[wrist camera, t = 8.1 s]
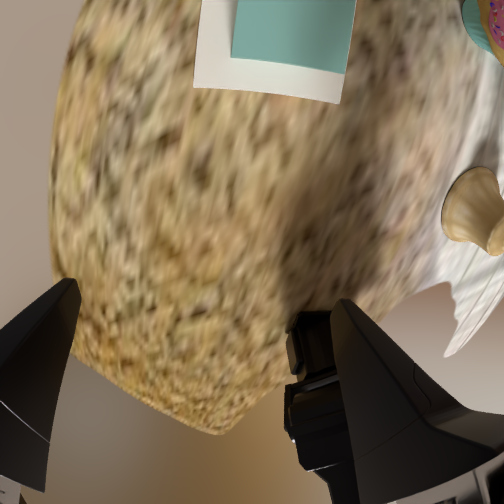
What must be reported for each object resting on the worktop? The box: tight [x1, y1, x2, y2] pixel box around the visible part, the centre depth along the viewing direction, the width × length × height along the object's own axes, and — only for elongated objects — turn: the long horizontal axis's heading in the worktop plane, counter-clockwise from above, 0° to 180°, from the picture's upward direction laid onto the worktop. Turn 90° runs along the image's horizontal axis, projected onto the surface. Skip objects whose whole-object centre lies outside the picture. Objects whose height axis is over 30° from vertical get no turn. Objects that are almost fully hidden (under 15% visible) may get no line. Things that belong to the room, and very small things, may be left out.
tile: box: [193, 0, 357, 105], centre depth 13 cm, size 9×9×1 cm
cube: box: [231, 0, 356, 74], centre depth 11 cm, size 5×5×5 cm
